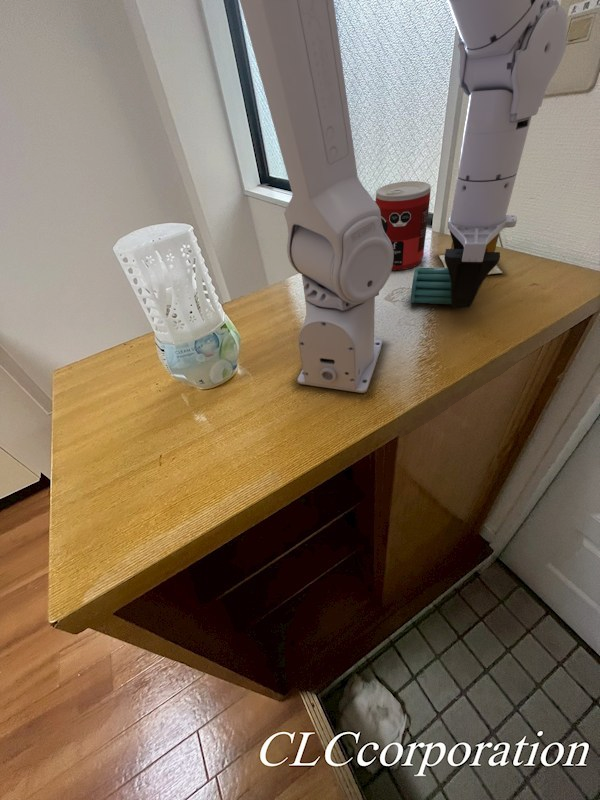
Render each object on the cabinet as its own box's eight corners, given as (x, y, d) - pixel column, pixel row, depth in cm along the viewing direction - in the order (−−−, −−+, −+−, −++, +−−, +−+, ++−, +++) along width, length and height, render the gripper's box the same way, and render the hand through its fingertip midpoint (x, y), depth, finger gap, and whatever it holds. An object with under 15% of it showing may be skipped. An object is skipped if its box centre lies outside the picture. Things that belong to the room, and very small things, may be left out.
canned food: (366, 261, 60) (365, 190, 53) (403, 248, 62) (408, 178, 54) (392, 275, 55) (396, 199, 47) (432, 261, 57) (442, 185, 49)
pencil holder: (408, 312, 47) (411, 280, 43) (415, 289, 51) (418, 258, 48) (463, 315, 44) (471, 281, 41) (465, 291, 48) (472, 259, 45)
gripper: (536, 192, 30) (496, 324, 40) (524, 155, 39) (494, 269, 49) (450, 196, 33) (432, 320, 42) (458, 160, 42) (441, 268, 51)
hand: (461, 293), depth 46 cm, fingers closed on pencil holder, 6 cm apart
